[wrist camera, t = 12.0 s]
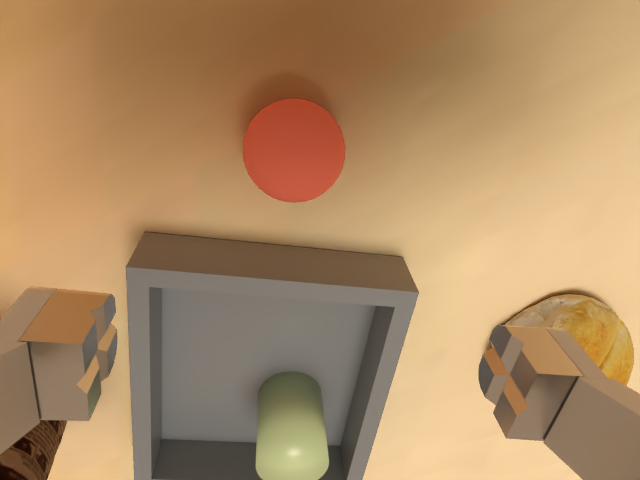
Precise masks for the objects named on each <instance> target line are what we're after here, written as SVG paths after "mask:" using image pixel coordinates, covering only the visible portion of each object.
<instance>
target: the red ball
mask: <svg viewBox="0 0 640 480" xmlns="http://www.w3.org/2000/svg"><path fill="white" fill-rule="evenodd" d="M243 158H244V163H245V166H246V169H247V171H248V174H249V175H250V177H251V179H252V180H253V182H254V183H255V184H256V185H257V186H258V187H259V188H260V189H261V190H262V191H263V192H265V193H266V194H268V195H269V196H271V197H273V198H275V199H278V200H281V201H286V202H303V201H308V200H311V199H314V198H316V197H318V196H320V195H321V194H323V193H324V192H325V191H327V190H328V189H329V188H330V187H331V186H332V185H333V184H334V182H335V181H336V180H337V178H338V176H339V174H340V172H341V170H342V167H343V163H344V158H345V144H344V138H343V135H342V132H341V130H340V127H339V125H338V124H337V122H336V121H335V119H334V118H333V117H332V116H331V114H330V113H328V112H327V111H326V110H325V109H324V108H322V107H321V106H319V105H317V104H315V103H313V102H310V101H308V100H303V99H294V98H293V99H284V100H280V101H277V102H274V103H272V104H270V105H268V106H266V107H265V108H263V109H262V110H261V111H260V112H259V113H258V114H257V115H256V116H255V117H254V118H253V120H252V121H251V123H250V124H249V126H248V129H247V131H246V134H245V137H244V142H243Z"/></svg>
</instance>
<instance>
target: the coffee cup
mask: <svg viewBox="0 0 640 480" xmlns="http://www.w3.org/2000/svg"><path fill="white" fill-rule="evenodd" d="M66 424H67V420H40V423H39V424H38V425H36V426H35V427H34V428H33V429H31V430H30V431H29V432H28V433H26V434H25V435H24V436H23V437H21V438H20V439H19V440H18V441H16V442H15V443H14V444H13V445H11V446H10V447H9V448H8V449H6V450H5V451H4V452H3V453H1V454H0V480H47V478H48V475H49V472H50V470H51V467H52V464H53V461H54V457H55V454H56V452H57V449H58V447H59V444H60V442H61V439H62V435H63V432H64V430H65V427H66Z"/></svg>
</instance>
